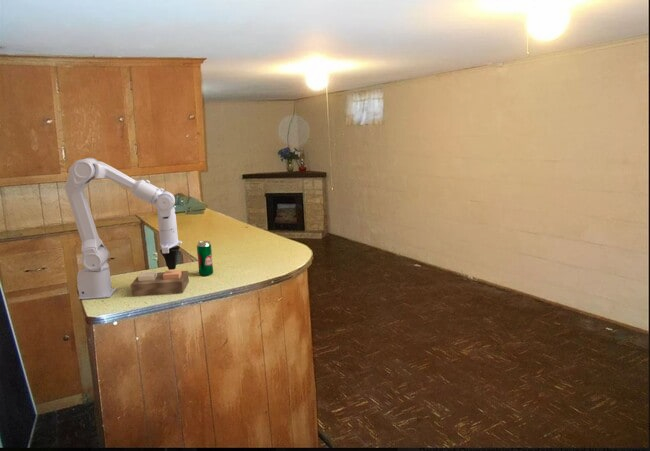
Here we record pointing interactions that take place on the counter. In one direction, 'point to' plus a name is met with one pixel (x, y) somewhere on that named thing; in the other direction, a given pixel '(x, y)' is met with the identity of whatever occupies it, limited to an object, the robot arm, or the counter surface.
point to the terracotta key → (172, 274)
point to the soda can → (204, 258)
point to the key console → (160, 285)
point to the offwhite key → (147, 276)
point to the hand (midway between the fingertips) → (172, 269)
